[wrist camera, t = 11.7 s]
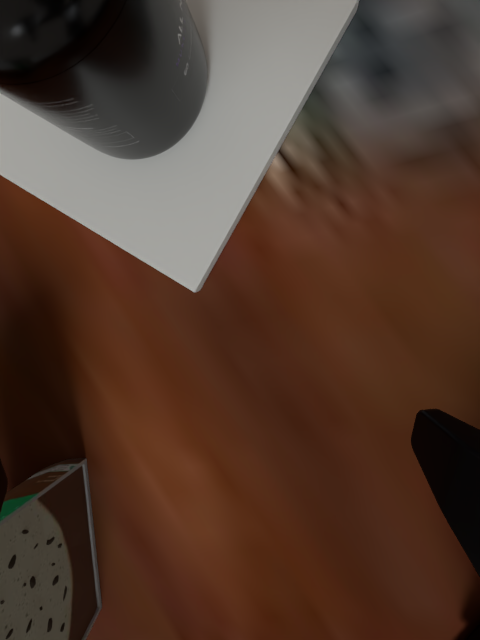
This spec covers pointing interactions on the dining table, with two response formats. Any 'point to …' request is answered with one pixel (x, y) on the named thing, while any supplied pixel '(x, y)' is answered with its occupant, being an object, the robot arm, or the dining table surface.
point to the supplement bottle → (106, 70)
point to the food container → (49, 556)
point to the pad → (189, 138)
